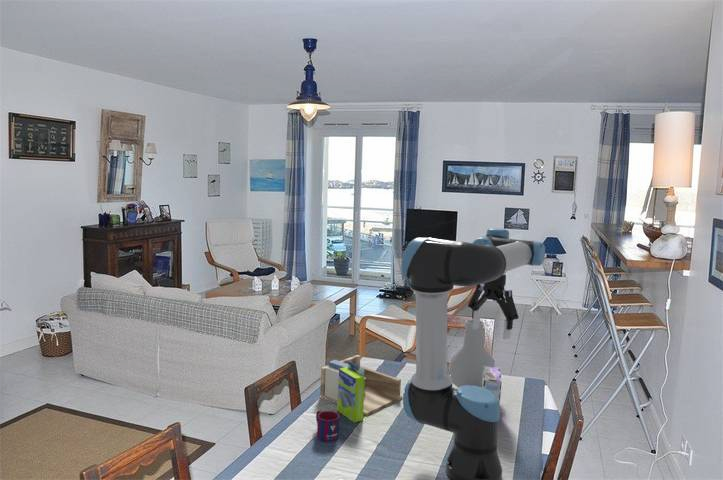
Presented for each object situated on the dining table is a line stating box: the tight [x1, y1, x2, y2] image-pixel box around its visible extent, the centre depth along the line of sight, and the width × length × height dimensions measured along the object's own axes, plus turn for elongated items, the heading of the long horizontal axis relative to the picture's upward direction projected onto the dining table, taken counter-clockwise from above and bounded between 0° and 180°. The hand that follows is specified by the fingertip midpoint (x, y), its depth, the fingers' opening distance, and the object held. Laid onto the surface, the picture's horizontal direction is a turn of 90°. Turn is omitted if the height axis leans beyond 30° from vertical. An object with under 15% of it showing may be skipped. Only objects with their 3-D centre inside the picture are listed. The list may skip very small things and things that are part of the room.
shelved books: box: [325, 359, 348, 400], centre depth 198 cm, size 5×9×12 cm, turn 50°
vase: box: [448, 319, 496, 389], centre depth 206 cm, size 17×16×28 cm
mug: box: [315, 410, 340, 442], centre depth 173 cm, size 7×10×7 cm
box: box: [337, 361, 365, 423], centre depth 185 cm, size 10×4×17 cm, turn 35°
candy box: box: [482, 366, 503, 404], centre depth 186 cm, size 14×6×16 cm, turn 168°
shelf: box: [320, 354, 403, 417], centre depth 201 cm, size 20×22×11 cm
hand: (490, 333), depth 194 cm, fingers open, 13 cm apart
